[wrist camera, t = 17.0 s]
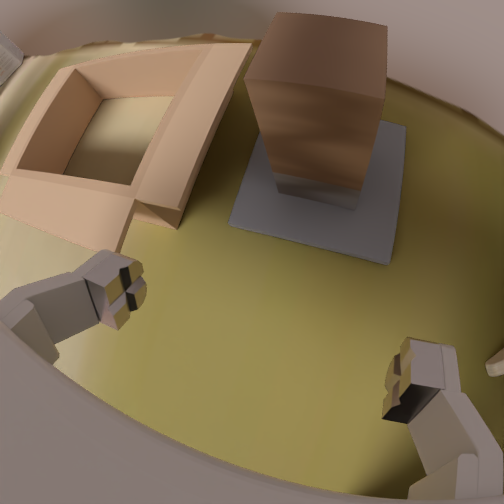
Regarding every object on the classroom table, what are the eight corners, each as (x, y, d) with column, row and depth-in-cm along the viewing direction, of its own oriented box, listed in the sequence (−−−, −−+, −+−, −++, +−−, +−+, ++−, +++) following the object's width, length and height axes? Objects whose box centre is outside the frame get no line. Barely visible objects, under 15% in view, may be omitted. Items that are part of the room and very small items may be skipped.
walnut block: (278, 193, 17) (243, 78, 8) (296, 131, 18) (276, 12, 9) (354, 210, 16) (384, 99, 7) (366, 145, 17) (387, 26, 8)
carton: (24, 224, 22) (-14, 206, 17) (86, 96, 25) (59, 68, 20) (196, 287, 17) (154, 272, 13) (265, 94, 20) (251, 43, 15)
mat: (230, 226, 18) (227, 222, 17) (272, 105, 19) (271, 100, 19) (387, 265, 15) (389, 263, 15) (404, 131, 17) (406, 126, 16)
